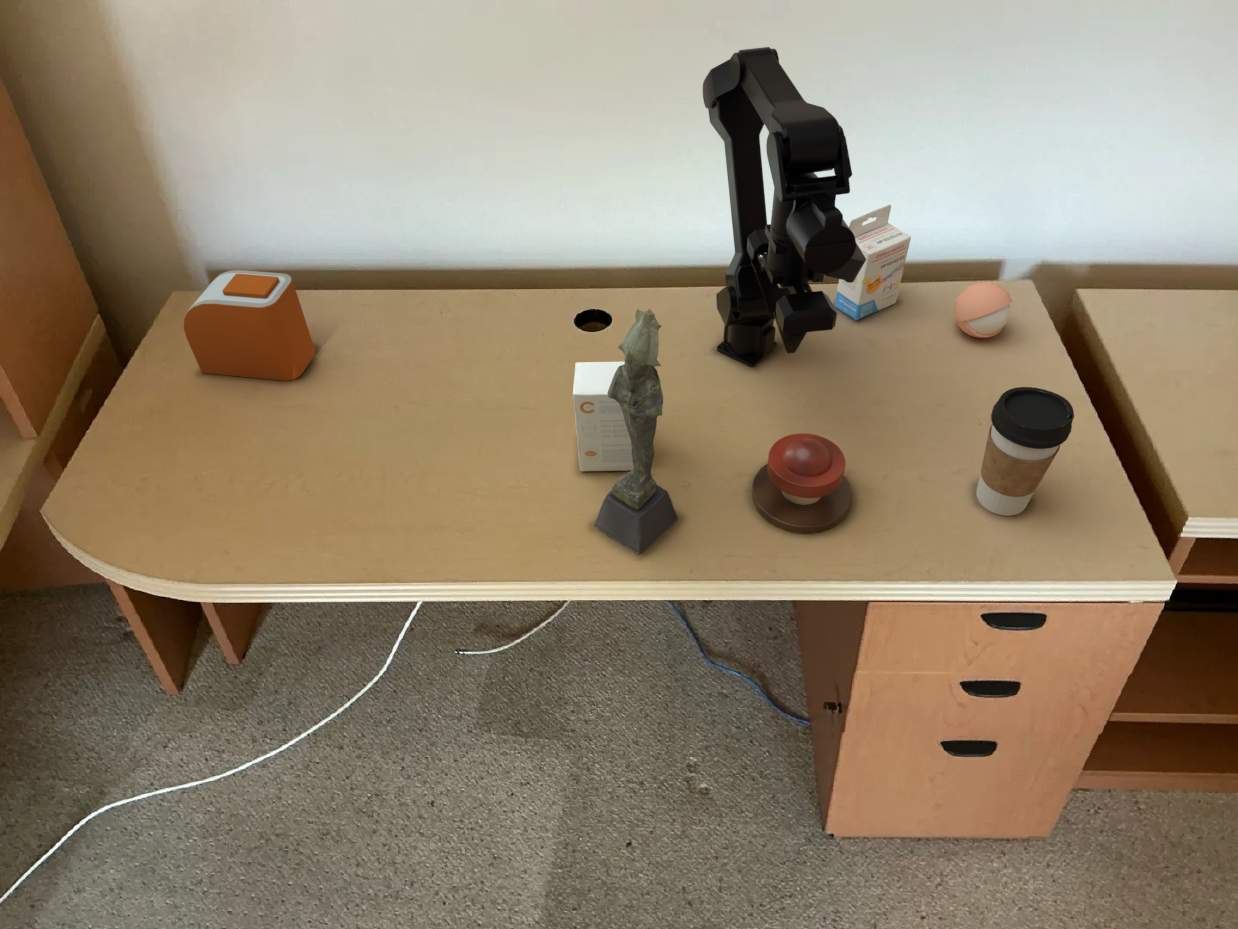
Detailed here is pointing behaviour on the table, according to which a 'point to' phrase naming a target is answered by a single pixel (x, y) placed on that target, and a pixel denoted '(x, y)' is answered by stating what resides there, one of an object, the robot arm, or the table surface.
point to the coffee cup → (1021, 447)
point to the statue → (638, 444)
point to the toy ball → (982, 309)
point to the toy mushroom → (803, 485)
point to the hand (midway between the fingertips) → (782, 334)
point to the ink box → (874, 266)
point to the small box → (599, 420)
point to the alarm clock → (250, 327)
